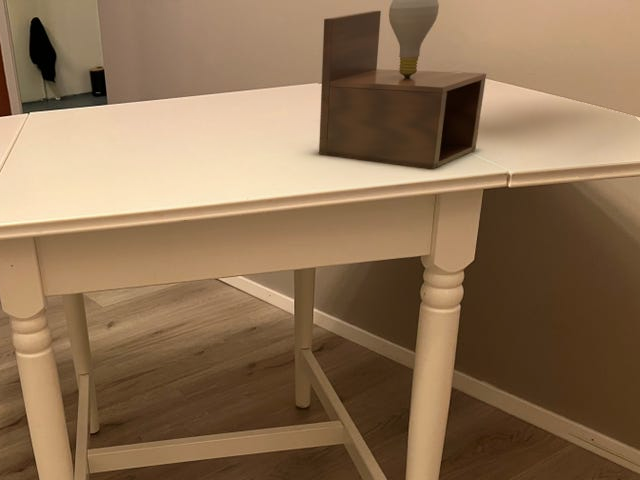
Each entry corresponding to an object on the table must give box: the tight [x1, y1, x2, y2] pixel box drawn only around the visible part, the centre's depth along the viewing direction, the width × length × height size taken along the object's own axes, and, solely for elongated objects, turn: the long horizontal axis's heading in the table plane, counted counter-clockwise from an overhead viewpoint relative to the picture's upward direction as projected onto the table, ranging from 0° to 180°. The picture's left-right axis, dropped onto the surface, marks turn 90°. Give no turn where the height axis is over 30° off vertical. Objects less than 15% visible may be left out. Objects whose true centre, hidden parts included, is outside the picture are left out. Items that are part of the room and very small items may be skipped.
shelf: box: [318, 10, 487, 170], centre depth 87 cm, size 16×11×16 cm
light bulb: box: [388, 0, 440, 77], centre depth 83 cm, size 6×6×10 cm
